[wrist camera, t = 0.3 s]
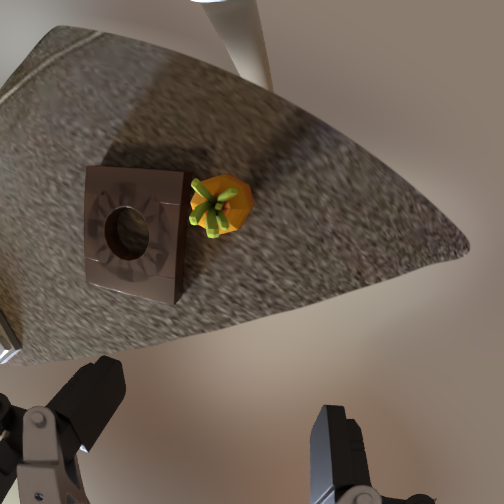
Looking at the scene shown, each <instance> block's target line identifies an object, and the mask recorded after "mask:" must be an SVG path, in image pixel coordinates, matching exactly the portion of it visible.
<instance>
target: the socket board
mask: <svg viewBox="0 0 504 504" xmlns="http://www.w3.org/2000/svg"><path fill="white" fill-rule="evenodd" d="M192 175H193V172H187V171H177V170H165V169H153V168H139V167H123V166H101V165H97V166H86V178H85V196H84V253H85V271H86V282H88V283H91V284H95V285H98V286H101V287H105V288H108V289H112V290H116V291H119V292H123V293H126V294H130V295H134V296H138V297H142V298H145V299H149V300H153V301H157V302H161V303H165V304H170V305H175V304H176V303H177V302H178V300H179V299H180V298H181V297H182V289H183V272H184V271H183V270H184V256H185V243H186V231H187V220H188V210H189V201H190V191H191V183H192ZM125 207H130V208H133V209H134V210H136V211H137V212H139V213H140V214H141V216H142V217H143V218H144V220H145V221H146V224H147V227H148V231H149V244H148V246H147V249H146V251H145V253H143V254H137V253H132V252H131V251H129V250H128V249H126V248H125V247H124V246H123V244H122V243H121V241H120V240H119V237H118V233H117V219H118V217H119V214H120V212H121V211H122V210H123V209H124V208H125Z"/></svg>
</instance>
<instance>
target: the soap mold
mask: <svg viewBox="0 0 504 504" xmlns="http://www.w3.org/2000/svg"><path fill="white" fill-rule="evenodd" d="M21 349H22V347H21V345H20V344H19V342H18V341H17V339H16V337H15V336H14V334H13V332H12V331H11V329H10V327H9V326H8V324H7V322H6V320H5V319H4V317H3V315H2V313H1V312H0V364H3V363H5V362H6V361H7V360H9V359H10V358H11V357H12V356H14V355H15V354H16V353H17V352H19V351H20V350H21Z"/></svg>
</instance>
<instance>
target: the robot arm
mask: <svg viewBox="0 0 504 504" xmlns="http://www.w3.org/2000/svg"><path fill="white" fill-rule="evenodd" d="M125 392H126V384H125V379H124V374H123V369H122V364H121V362H120V361H119V360H116V359H113V358H110V357H108V356H105V355H103V356H101V357H100V358H99V359H98V360H97V362H96V363H95V364H93V363H89V364H87V365H85V366H83V367H81V368H80V369H79V370H78V371H77V372H76V373H75V374H74V375H73V377H72V378H71V379H70V380H69V381H68V383H66V384H65V385H64V386H63V388H62V389H61V390H60V391H59V392H58V393H57V394H56V395H55V396H54V398H53V399H52V400H51V401H50V402H49V403H48V405H46V406H45V407H43V406H35V407H32V408H30V409H28V410H26V409H23V408H20V407H16V406H13V405H11V403H10V401H9V400H8V398H7V397H6V396H5V395H4V394H2V393H0V436H2V440H1V441H0V504H2V502H3V500H4V498H5V496H6V495H7V493H8V491H9V490H10V488H11V486H12V485H13V483H14V481H15V480H16V478H17V480H18V489H19V498H20V504H90V502H89V500H88V498H87V496H86V494H85V491H84V487H83V483H82V479H81V474H80V470H79V464H78V459H77V455H76V453H77V451H78V450H79V449H81V450H83V451H85V452H87V453H89V451H90V449H91V448H92V446H93V445H94V443H95V442H96V440H97V438H98V437H99V436H100V434H101V432H102V431H103V429H104V428H105V426H106V425H107V423H108V422H109V420H110V419H111V417H112V416H113V414H114V413H115V411H116V409H117V408H118V406H119V405H120V403H121V402H122V400H123V399H124V396H125ZM364 449H365V448H364V443H363V437H362V432H361V428H360V427H359V426H358V424H357V423H356V421H355V420H354V419H346V414H345V409H344V407H343V406H337V405H323V407H322V409H321V411H320V413H319V415H318V417H317V419H316V422H315V423H314V425H313V428H312V431H311V436H310V469H311V471H310V473H311V499H310V501H311V503H310V504H435V502H434V501H433V499H431V498H430V497H429V496H427V495H425V494H416V495H413V496H411V497H410V498H408V499H407V500H402V499H395V498H388V497H384V496H381V495H380V494H379V492H378V491H377V490H376V489H374V488H373V487H372V485H371V482H370V476H369V470H368V464H367V458H366V453H365V451H364Z"/></svg>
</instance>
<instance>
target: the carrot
mask: <svg viewBox="0 0 504 504" xmlns="http://www.w3.org/2000/svg"><path fill="white" fill-rule="evenodd" d="M191 186H192V187H193V188H194V190H195V191H196V192H195V194H194V196H193V198H192V200H191V202H190V203H191V206H192V209H193V211H192V213H191V214H190V216H189V219H190V222H191V224H193V225H200V226H202V227H203V228H205V229H206V231H207V235H208V237H210V238H217V237H218V236H219V234H223V233H227V232H231V231H234V230H238V229H240V228H241V226H242V225H243V223H244V222H245V220H246V218H247V216H248V215H249V213H250V211H251V209H252V208H253V206H254V204H255V203H254V199H253V196H252V192H251V189H250V185H249V184H247V183H245V182H243V181H241V180H240V179H238V178H236V177H234V176H232V175H228V174H223V175H220V176H216V177H213V178H210V179H207V180H203V181H199V180H198V179H197V178H195V179H194V180H193V181H192V183H191Z"/></svg>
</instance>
